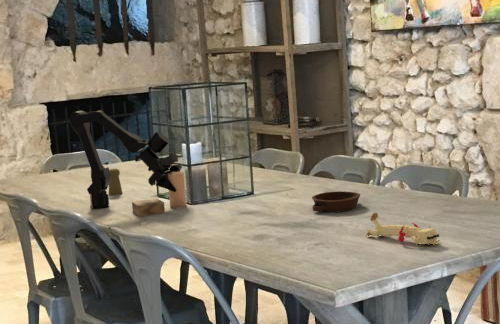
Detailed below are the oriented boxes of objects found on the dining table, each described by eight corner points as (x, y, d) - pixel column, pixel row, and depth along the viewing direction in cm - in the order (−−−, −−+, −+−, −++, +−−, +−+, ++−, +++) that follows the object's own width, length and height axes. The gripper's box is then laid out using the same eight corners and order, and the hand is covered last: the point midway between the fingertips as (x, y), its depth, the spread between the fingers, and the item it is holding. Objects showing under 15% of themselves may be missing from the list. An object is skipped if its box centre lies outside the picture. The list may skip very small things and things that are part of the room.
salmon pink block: (172, 208, 340) (169, 175, 338) (168, 205, 346) (165, 173, 344) (188, 206, 342) (185, 173, 340) (183, 203, 348) (181, 171, 346)
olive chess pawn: (119, 195, 376) (117, 169, 374) (106, 195, 377) (104, 170, 376) (124, 192, 382) (122, 167, 380) (111, 192, 383) (109, 168, 381)
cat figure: (362, 243, 273) (427, 248, 254) (359, 215, 272) (424, 218, 253) (383, 237, 279) (448, 241, 261) (380, 210, 279) (445, 212, 260)
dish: (374, 205, 321) (374, 192, 320) (334, 217, 306) (333, 203, 306) (338, 201, 334) (338, 188, 333) (298, 212, 319) (297, 198, 318)
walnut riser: (139, 216, 330) (138, 206, 329) (132, 211, 339) (131, 201, 338) (164, 212, 333) (163, 202, 332) (157, 208, 342) (156, 198, 342)
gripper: (152, 150, 334) (180, 179, 331) (175, 143, 351) (202, 170, 348) (136, 171, 338) (163, 199, 335) (160, 163, 355) (186, 190, 352)
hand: (180, 189), depth 343 cm, fingers closed on salmon pink block, 6 cm apart
